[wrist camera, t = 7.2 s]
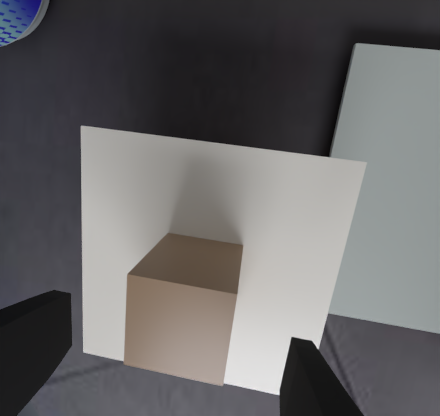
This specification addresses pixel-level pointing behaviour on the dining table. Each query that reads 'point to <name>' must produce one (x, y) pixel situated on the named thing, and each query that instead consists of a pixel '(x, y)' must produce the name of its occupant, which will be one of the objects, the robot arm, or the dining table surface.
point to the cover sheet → (222, 209)
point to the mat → (392, 187)
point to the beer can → (20, 18)
